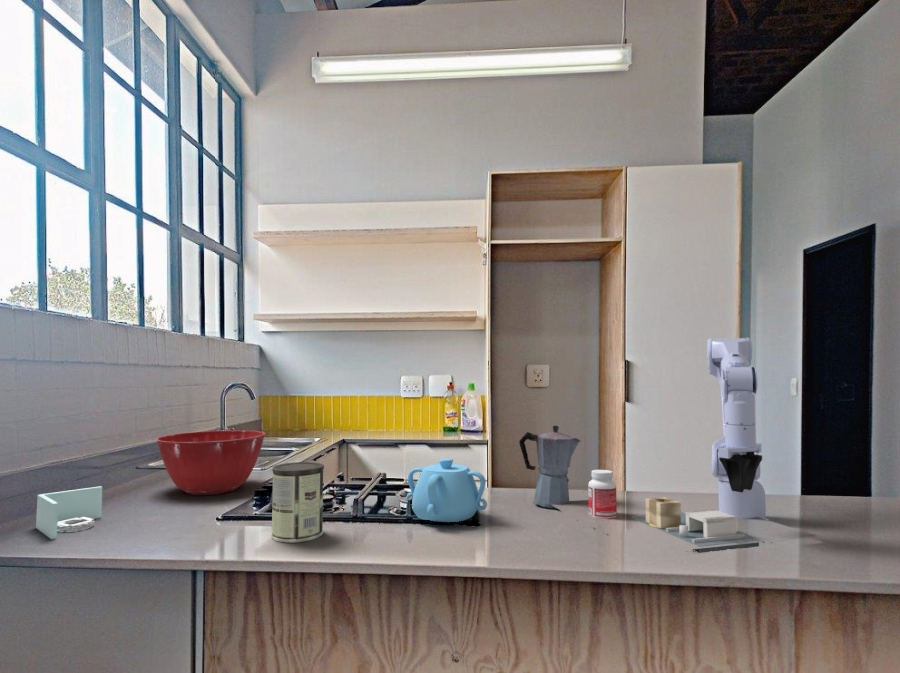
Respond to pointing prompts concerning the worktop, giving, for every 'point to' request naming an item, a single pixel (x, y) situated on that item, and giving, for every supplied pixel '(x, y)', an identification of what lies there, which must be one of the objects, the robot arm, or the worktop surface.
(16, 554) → the worktop surface
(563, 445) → the moka pot
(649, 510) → the collar
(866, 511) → the worktop surface
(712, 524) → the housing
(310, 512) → the coffee can
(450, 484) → the decorative pot
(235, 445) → the mixing bowl
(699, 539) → the board
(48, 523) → the right angle wall
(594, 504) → the pill bottle
